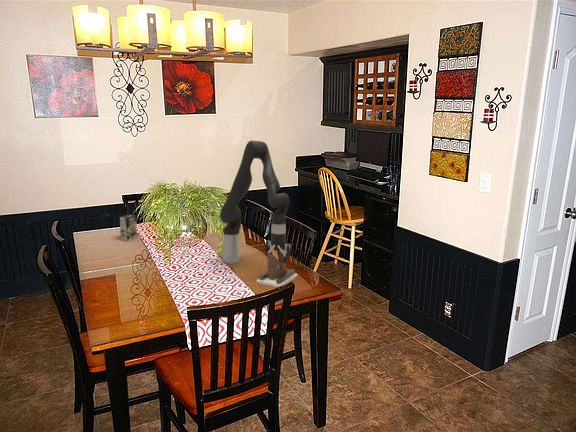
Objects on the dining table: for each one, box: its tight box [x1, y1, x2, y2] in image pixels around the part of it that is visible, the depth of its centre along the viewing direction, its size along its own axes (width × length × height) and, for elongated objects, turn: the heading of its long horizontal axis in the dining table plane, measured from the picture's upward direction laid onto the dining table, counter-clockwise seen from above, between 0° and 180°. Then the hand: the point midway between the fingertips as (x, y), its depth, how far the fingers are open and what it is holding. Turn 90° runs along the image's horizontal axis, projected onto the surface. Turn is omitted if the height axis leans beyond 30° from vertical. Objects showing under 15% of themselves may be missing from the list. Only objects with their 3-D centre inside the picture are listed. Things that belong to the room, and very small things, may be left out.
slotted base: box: [256, 265, 298, 288], centre depth 231 cm, size 14×19×4 cm
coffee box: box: [119, 214, 138, 242], centre depth 294 cm, size 9×6×16 cm
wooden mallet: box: [267, 246, 288, 280], centre depth 229 cm, size 4×11×18 cm, turn 131°
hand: (277, 261), depth 229 cm, fingers open, 8 cm apart
